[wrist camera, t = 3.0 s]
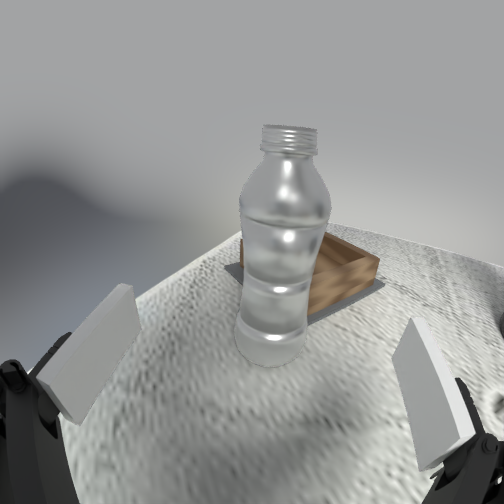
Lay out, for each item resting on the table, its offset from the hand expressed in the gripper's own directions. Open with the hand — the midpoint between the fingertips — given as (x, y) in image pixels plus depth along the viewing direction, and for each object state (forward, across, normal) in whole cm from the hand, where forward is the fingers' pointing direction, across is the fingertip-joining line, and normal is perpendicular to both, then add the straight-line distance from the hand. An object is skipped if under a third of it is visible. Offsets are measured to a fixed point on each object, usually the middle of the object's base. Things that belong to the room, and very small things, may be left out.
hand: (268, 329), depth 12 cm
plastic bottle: (+10, 0, -12) cm, 15 cm away
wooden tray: (+25, +4, -11) cm, 28 cm away
